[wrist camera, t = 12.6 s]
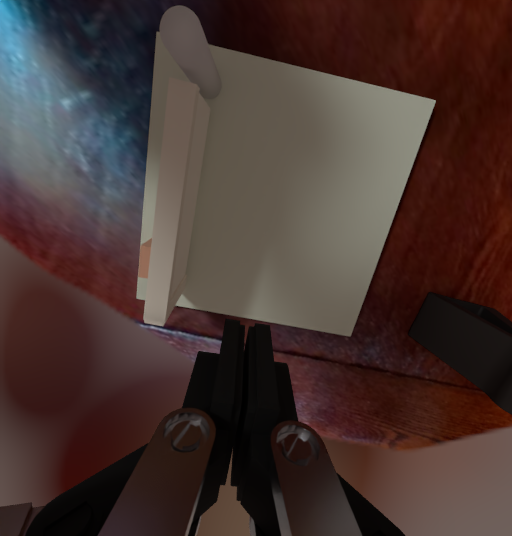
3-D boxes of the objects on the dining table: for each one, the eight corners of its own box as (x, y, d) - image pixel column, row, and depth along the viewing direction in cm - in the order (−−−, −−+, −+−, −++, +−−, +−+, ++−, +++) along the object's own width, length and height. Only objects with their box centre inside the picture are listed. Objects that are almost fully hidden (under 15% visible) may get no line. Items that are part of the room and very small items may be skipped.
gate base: (139, 295, 34) (86, 354, 23) (160, 36, 26) (91, -61, 15) (348, 332, 36) (389, 403, 25) (429, 102, 28) (544, 59, 17)
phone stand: (406, 333, 36) (476, 408, 25) (428, 291, 34) (514, 351, 23) (469, 348, 37) (565, 428, 26) (494, 308, 35) (609, 375, 24)
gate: (194, 104, 26) (169, 76, 18) (213, 109, 26) (196, 84, 18) (170, 284, 32) (143, 322, 24) (186, 288, 32) (164, 326, 24)
